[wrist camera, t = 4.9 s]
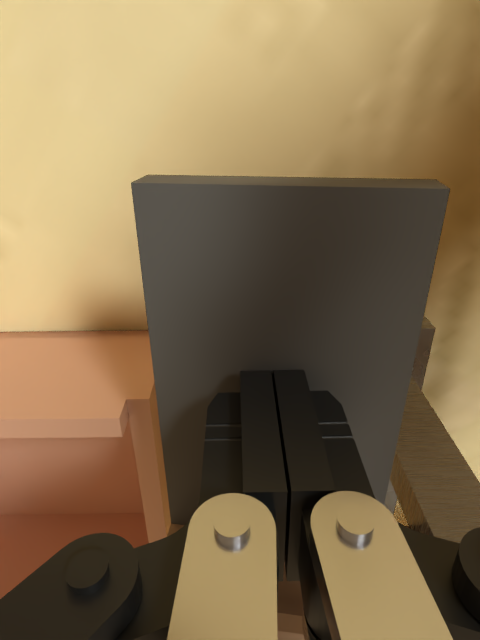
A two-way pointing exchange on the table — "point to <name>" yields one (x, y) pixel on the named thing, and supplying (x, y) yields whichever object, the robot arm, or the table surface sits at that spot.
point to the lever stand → (431, 465)
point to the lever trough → (284, 307)
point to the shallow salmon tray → (77, 445)
